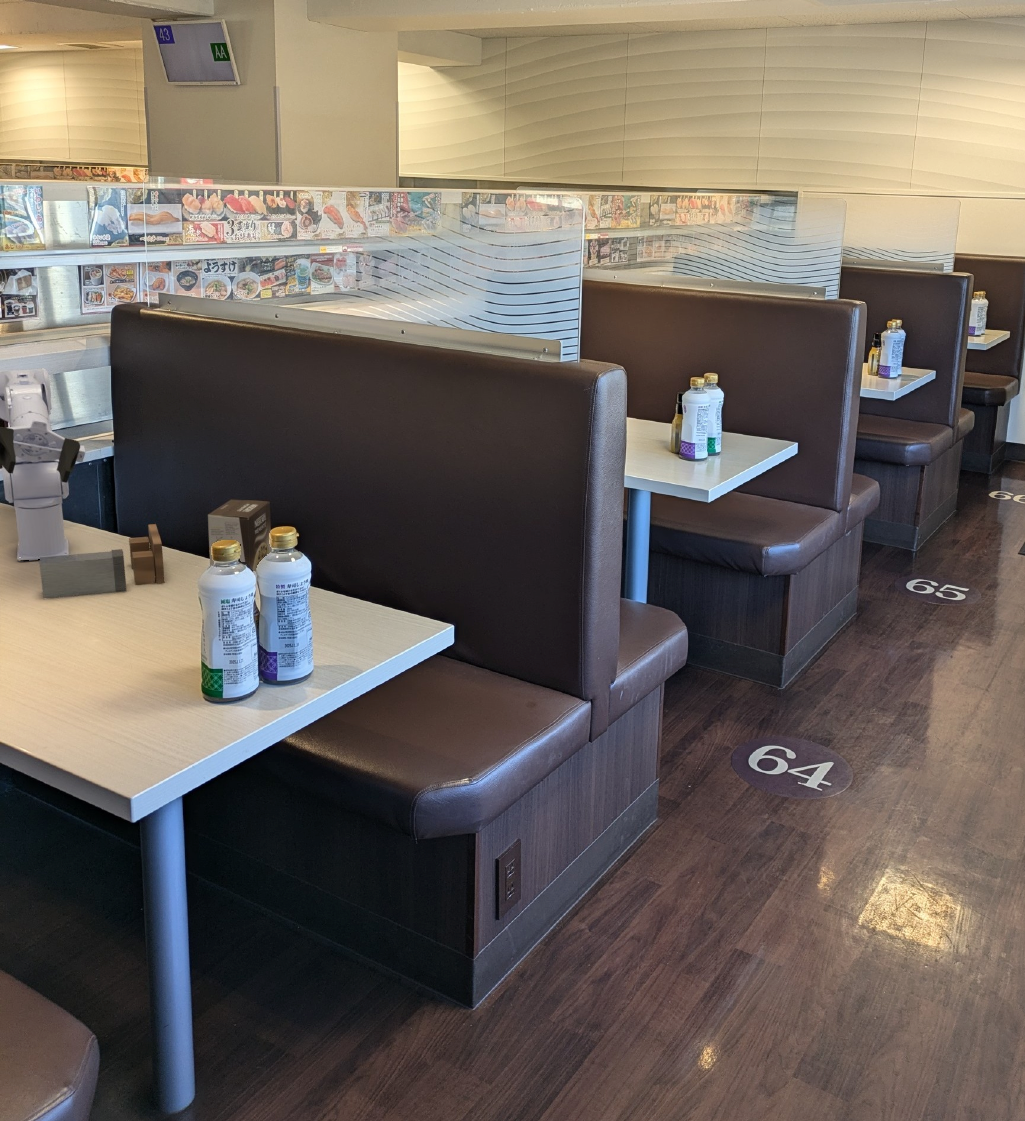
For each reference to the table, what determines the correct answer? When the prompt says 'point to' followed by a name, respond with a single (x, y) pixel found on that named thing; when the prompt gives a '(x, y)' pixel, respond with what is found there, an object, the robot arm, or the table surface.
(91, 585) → the rail
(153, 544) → the post block
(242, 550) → the coffee box
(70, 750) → the table surface
